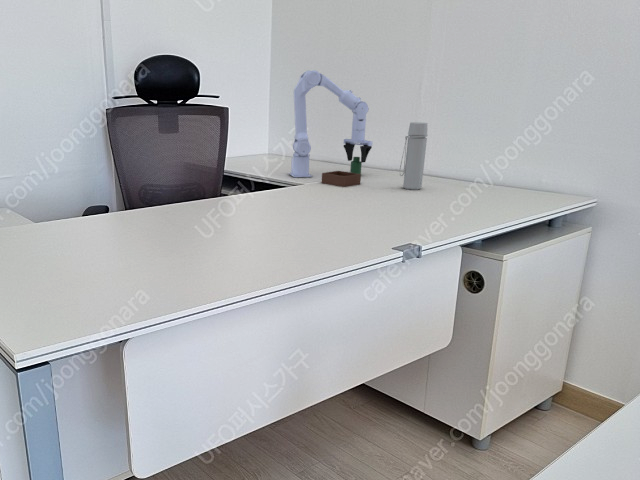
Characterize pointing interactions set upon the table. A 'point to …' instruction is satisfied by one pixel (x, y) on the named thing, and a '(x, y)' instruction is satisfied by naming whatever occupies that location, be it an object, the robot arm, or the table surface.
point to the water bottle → (415, 155)
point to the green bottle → (356, 165)
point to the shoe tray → (341, 178)
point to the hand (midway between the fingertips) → (356, 161)
